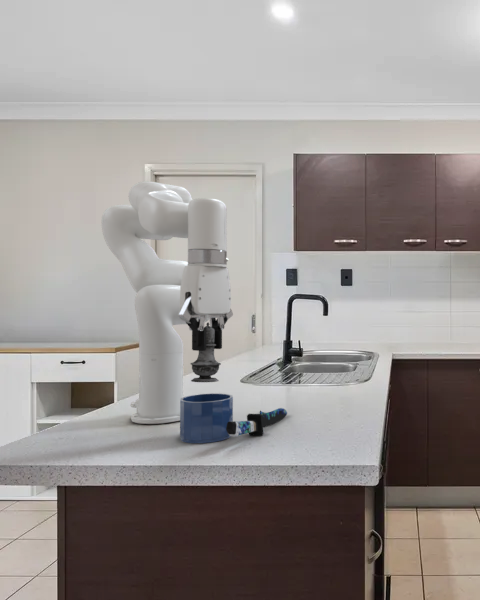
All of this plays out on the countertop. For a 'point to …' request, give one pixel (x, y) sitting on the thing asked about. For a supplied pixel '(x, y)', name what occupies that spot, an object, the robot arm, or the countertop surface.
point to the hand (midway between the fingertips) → (207, 348)
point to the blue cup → (205, 417)
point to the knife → (255, 423)
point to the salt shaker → (206, 359)
